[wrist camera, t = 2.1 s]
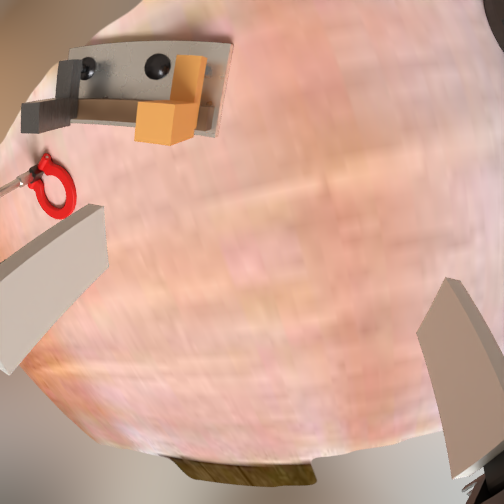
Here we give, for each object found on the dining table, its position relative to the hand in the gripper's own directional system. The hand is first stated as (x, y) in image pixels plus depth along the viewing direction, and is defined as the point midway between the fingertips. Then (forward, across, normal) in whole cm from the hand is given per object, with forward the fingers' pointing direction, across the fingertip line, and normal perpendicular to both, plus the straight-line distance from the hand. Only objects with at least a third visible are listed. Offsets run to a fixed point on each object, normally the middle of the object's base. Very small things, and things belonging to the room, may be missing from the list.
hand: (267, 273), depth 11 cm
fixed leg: (+21, -26, +6) cm, 33 cm away
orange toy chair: (+21, -11, +5) cm, 24 cm away
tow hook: (+23, -32, -8) cm, 41 cm away
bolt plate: (+22, -18, +6) cm, 30 cm away
